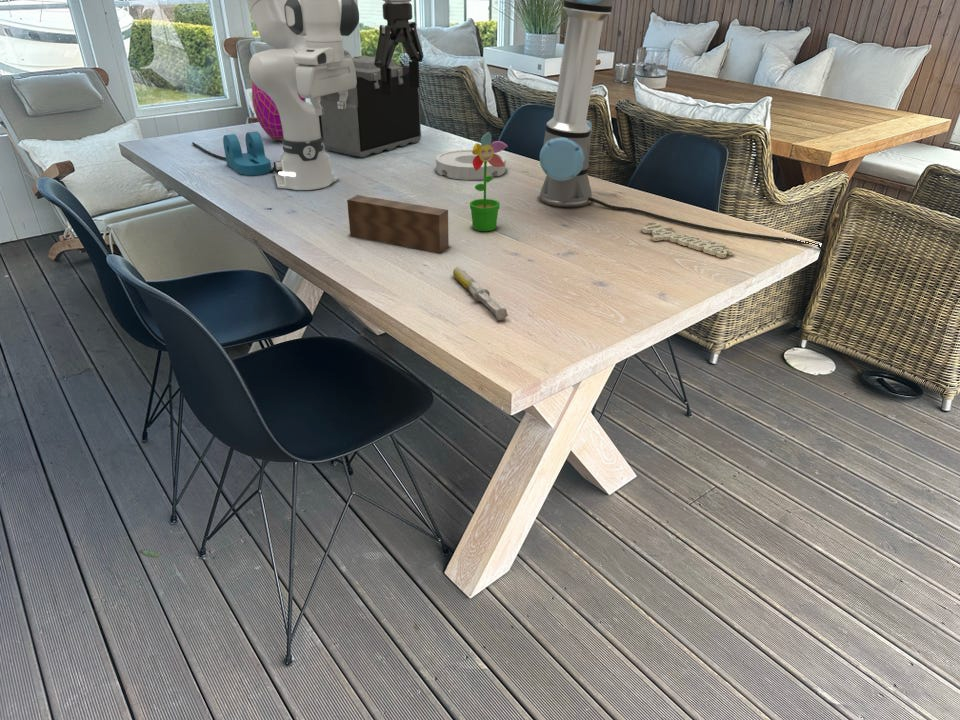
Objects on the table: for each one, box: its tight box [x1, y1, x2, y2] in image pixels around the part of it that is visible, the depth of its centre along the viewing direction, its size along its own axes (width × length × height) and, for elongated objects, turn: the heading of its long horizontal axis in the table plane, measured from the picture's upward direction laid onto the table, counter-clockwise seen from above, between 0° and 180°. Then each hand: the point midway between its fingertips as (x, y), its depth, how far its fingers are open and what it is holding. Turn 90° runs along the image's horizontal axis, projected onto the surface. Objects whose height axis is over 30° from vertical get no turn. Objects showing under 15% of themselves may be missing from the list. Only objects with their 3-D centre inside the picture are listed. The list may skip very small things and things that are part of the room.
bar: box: [346, 194, 450, 254], centre depth 170 cm, size 26×5×10 cm, turn 65°
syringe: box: [452, 266, 509, 321], centre depth 145 cm, size 25×4×3 cm, turn 21°
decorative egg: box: [251, 80, 307, 142], centre depth 257 cm, size 19×19×30 cm
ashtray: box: [435, 149, 507, 181], centre depth 229 cm, size 23×23×4 cm
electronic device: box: [319, 55, 422, 159], centre depth 250 cm, size 37×22×30 cm, turn 144°
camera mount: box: [222, 131, 272, 176], centre depth 226 cm, size 18×10×10 cm, turn 35°
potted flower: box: [469, 131, 509, 232], centre depth 175 cm, size 9×8×25 cm
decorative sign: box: [641, 221, 733, 259], centre depth 174 cm, size 26×1×10 cm
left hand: (331, 111), depth 177 cm, fingers open, 8 cm apart
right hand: (401, 91), depth 186 cm, fingers open, 13 cm apart
